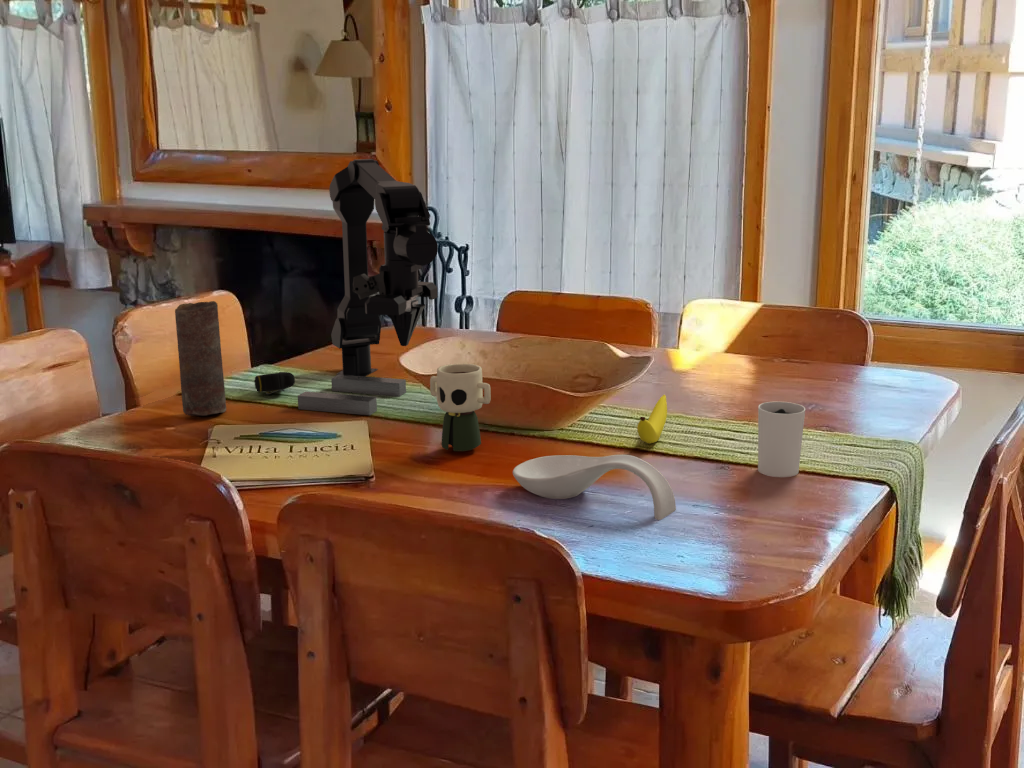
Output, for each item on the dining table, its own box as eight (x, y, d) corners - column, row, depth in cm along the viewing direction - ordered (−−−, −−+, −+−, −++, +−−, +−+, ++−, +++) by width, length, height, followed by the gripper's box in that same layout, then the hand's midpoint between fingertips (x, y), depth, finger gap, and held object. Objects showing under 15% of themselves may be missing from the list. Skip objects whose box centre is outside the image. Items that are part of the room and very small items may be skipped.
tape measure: (297, 389, 202) (294, 369, 202) (261, 395, 199) (257, 375, 199) (288, 390, 208) (285, 370, 208) (253, 396, 205) (249, 376, 205)
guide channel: (339, 387, 208) (338, 374, 208) (406, 392, 204) (405, 379, 204) (298, 409, 194) (297, 395, 193) (369, 415, 189) (369, 401, 189)
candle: (219, 421, 187) (210, 307, 182) (177, 421, 187) (166, 307, 182) (231, 409, 194) (223, 299, 189) (191, 409, 194) (181, 299, 189)
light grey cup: (746, 468, 160) (749, 403, 158) (786, 464, 162) (789, 399, 160) (769, 483, 154) (773, 416, 152) (810, 478, 156) (815, 411, 154)
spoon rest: (497, 496, 151) (496, 447, 149) (543, 473, 160) (543, 426, 158) (648, 533, 138) (650, 479, 136) (689, 505, 147) (691, 455, 145)
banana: (672, 423, 183) (673, 387, 182) (651, 457, 166) (652, 417, 164) (655, 422, 184) (656, 385, 182) (632, 456, 167) (633, 416, 165)
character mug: (419, 449, 171) (417, 369, 167) (444, 437, 176) (442, 360, 173) (479, 460, 165) (477, 377, 162) (502, 447, 171) (501, 367, 168)
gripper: (381, 250, 200) (384, 332, 204) (334, 264, 183) (339, 354, 187) (437, 251, 197) (439, 336, 201) (395, 266, 180) (399, 358, 183)
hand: (404, 345), depth 193 cm, fingers closed
